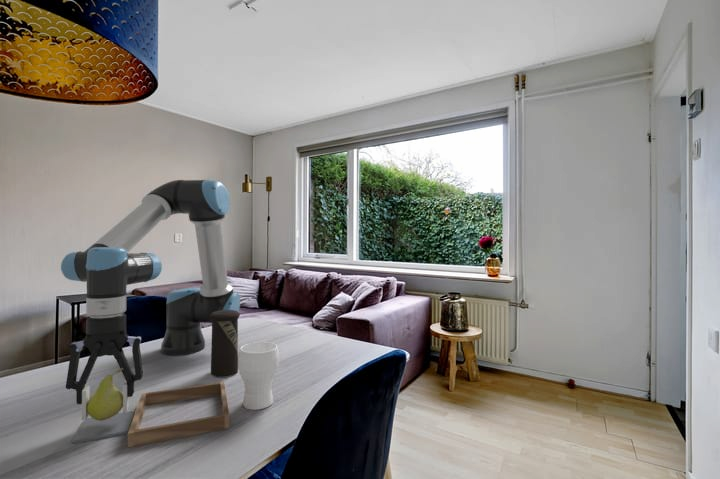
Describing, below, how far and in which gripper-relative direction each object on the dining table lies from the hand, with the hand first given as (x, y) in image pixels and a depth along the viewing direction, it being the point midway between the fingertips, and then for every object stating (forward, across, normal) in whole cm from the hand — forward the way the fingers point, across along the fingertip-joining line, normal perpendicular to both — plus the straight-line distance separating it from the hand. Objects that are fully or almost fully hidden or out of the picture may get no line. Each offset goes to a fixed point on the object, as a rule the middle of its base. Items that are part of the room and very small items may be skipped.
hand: (106, 413), depth 82 cm
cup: (+3, +34, -1) cm, 34 cm away
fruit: (+1, 0, 0) cm, 1 cm away
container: (+3, +27, +24) cm, 36 cm away
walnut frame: (+3, +16, -1) cm, 16 cm away
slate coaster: (+3, 0, 0) cm, 3 cm away
